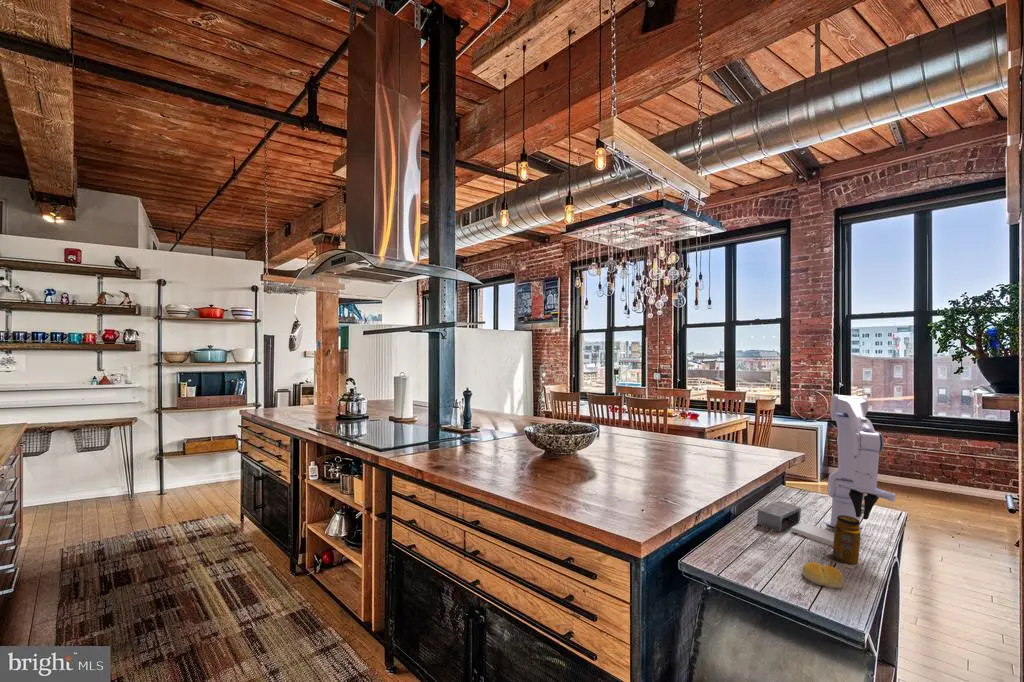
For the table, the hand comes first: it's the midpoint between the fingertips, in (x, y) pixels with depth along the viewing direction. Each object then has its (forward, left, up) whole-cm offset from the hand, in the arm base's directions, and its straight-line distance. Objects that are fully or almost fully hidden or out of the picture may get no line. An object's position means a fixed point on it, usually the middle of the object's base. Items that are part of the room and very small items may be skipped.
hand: (862, 517), depth 143 cm
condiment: (+12, -1, -10) cm, 16 cm away
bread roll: (+30, +1, -10) cm, 32 cm away
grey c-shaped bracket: (0, -23, -10) cm, 25 cm away
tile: (0, -11, -10) cm, 15 cm away
